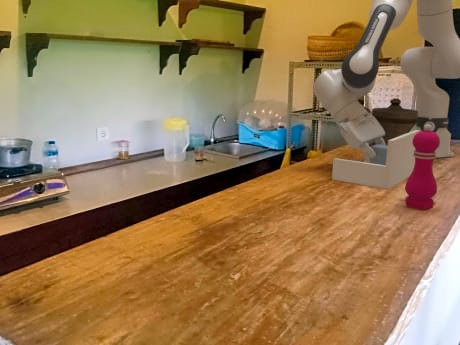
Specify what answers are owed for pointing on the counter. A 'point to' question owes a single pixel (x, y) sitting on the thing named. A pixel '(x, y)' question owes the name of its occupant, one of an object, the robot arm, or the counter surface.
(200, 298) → the counter surface
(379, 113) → the wooden container
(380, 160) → the block
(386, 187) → the open box
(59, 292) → the counter surface
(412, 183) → the pepper mill
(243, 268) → the counter surface
